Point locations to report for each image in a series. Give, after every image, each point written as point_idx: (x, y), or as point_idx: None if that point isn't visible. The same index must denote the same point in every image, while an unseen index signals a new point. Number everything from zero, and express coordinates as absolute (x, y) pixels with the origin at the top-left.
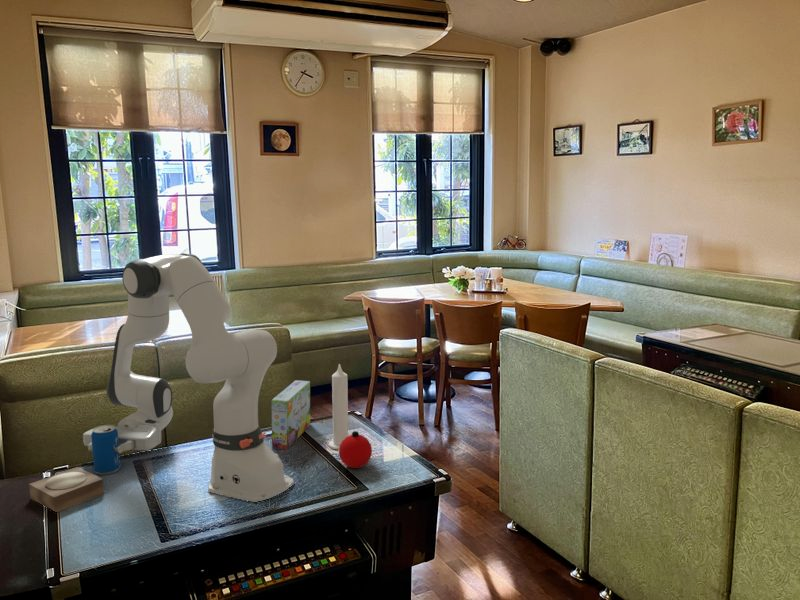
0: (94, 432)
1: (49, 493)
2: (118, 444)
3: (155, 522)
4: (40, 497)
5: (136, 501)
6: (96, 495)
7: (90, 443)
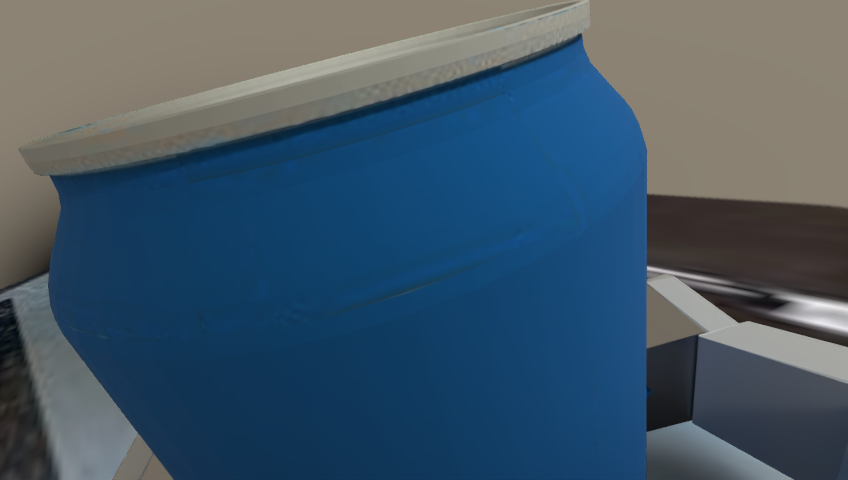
0: (400, 54)
1: None
2: None
3: (16, 332)
4: None
5: (91, 378)
6: None
7: (692, 295)
